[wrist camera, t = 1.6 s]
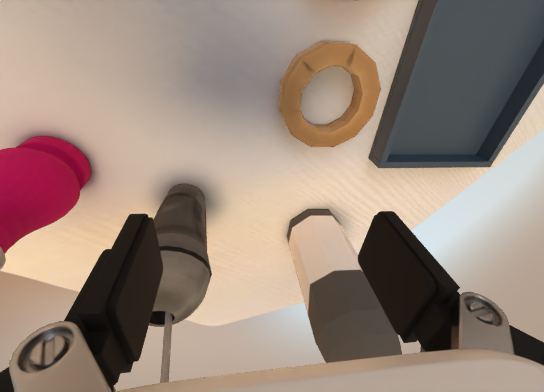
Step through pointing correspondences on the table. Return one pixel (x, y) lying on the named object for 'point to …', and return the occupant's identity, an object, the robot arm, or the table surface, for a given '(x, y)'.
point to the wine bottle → (338, 291)
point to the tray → (461, 83)
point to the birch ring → (361, 103)
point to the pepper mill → (38, 186)
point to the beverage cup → (180, 261)
